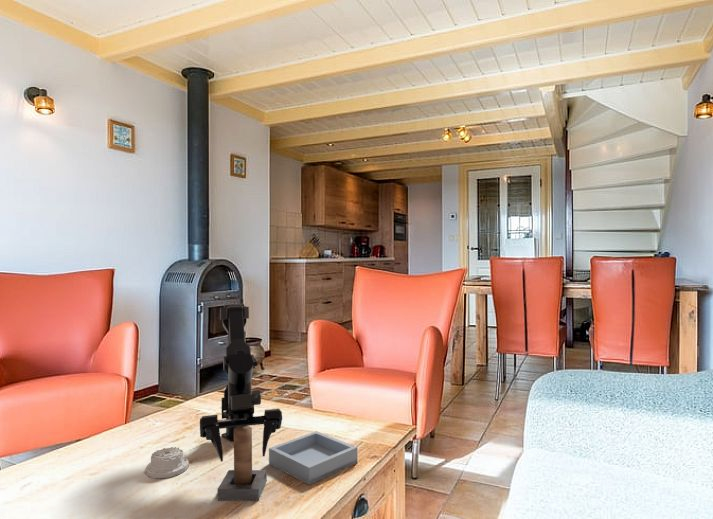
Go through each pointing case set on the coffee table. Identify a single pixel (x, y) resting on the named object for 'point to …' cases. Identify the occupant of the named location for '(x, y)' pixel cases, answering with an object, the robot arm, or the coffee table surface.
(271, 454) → the tray
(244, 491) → the gray square socket plate
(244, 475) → the pin
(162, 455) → the mechanical component
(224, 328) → the robot arm
